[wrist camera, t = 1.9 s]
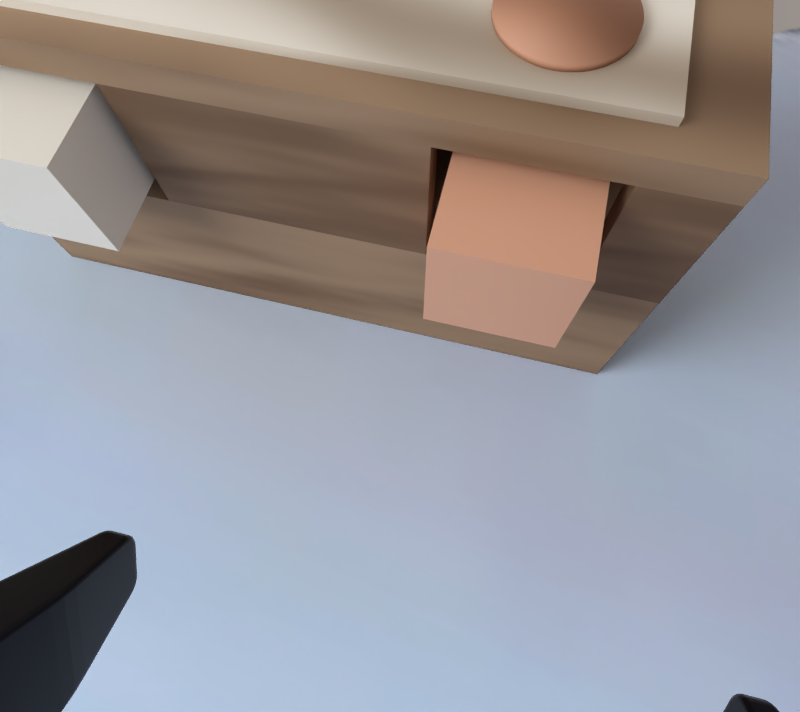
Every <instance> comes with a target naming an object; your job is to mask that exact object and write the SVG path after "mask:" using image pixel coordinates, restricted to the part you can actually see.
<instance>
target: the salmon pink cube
mask: <svg viewBox="0 0 800 712" xmlns="http://www.w3.org/2000/svg"><path fill="white" fill-rule="evenodd" d="M609 185H610V181H606V180H601V179H596V178H590V177H585V176H580V175H575V174H569V173H564V172H559V171H554V170H548V169H543V168H538V167H532V166H527V165H522V164H517V163H511V162H506V161H501V160H496V159H490V158H485V157H480V156H475V155H469V154H464V153H459V152H454V151H453V153H452V157H451V160H450V164H449V168H448V171H447V175H446V179H445V182H444V186H443V190H442V193H441V197H440V201H439V204H438V208H437V212H436V215H435V219H434V223H433V226H432V230H431V234H430V237H429V241H428V245H427V253H426V272H425V291H424V311H423V319H427V320H431V321H436V322H440V323H445V324H449V325H454V326H458V327H463V328H467V329H472V330H476V331H481V332H485V333H490V334H494V335H499V336H503V337H508V338H512V339H517V340H521V341H526V342H530V343H535V344H539V345H544V346H548V347H553V348H555V347H556V345H557V344H558V342H559V341H560V339H561V337H562V336H563V334H564V332H565V331H566V329H567V327H568V326H569V324H570V323H571V321H572V319H573V318H574V316H575V314H576V313H577V311H578V309H579V308H580V306H581V305H582V303H583V301H584V300H585V298H586V296H587V295H588V293H589V291H590V290H591V288H592V287H593V285H594V283H595V280H596V273H597V266H598V259H599V253H600V246H601V239H602V232H603V226H604V219H605V212H606V205H607V198H608V192H609Z"/></svg>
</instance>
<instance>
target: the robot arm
mask: <svg viewBox="0 0 800 712" xmlns="http://www.w3.org/2000/svg"><path fill="white" fill-rule="evenodd" d="M136 579H137V567H136V548H135V541H134V539H133V537H131V536H130V535H126V534H122V533H118V532H115V531H104V532H101V533H99V534H97V535H95V536H93V537H91V538H89V539H87V540H84V541H82V542H80V543H78V544H76V545H74V546H72V547H70V548H68V549H66V550H64V551H62V552H60V553H57V554H55V555H53V556H51V557H49V558H47V559H45V560H43V561H41V562H39V563H37V564H35V565H33V566H30V567H28V568H26V569H24V570H22V571H20V572H18V573H16V574H14V575H12V576H10V577H8V578H6V579H3V580H1V581H0V712H62V710H63V709H64V707H65V706H66V704H67V703H68V701H69V700H70V698H71V697H72V695H73V694H74V692H75V691H76V689H77V688H78V686H79V684H80V683H81V681H82V679H83V678H84V676H85V674H86V673H87V671H88V669H89V667H90V666H91V664H92V662H93V660H94V659H95V657H96V655H97V653H98V652H99V650H100V648H101V646H102V644H103V643H104V641H105V639H106V637H107V636H108V634H109V632H110V630H111V629H112V627H113V625H114V623H115V622H116V620H117V618H118V616H119V615H120V613H121V611H122V609H123V608H124V606H125V604H126V602H127V601H128V599H129V597H130V595H131V593H132V591H133V589H134V587H135V584H136ZM723 712H779V711H778V710H777V708H776V707H775V706H773V705H772V704H771V703H770V702H768V701H766V700H763V699H760V698H756V697H752V696H748V695H744V694H736V695H734V696H733V697H732V698H731V699H730V701H729V703H728V705H727V706H726V708H725V710H724V711H723Z"/></svg>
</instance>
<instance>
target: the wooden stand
mask: <svg viewBox="0 0 800 712" xmlns="http://www.w3.org/2000/svg"><path fill="white" fill-rule="evenodd" d="M772 36H773V0H0V65H1V66H6V67H12V68H17V69H22V70H28V71H33V72H38V73H43V74H49V75H54V76H59V77H64V78H70V79H75V80H80V81H85V82H91V83H96V84H97V85H98V87H99V88H100V90H101V92H102V93H103V95H104V96H105V98H106V100H107V101H108V103H109V105H110V106H111V108H112V109H113V111H114V113H115V114H116V116H117V117H118V119H119V121H120V122H121V124H122V125H123V127H124V129H125V130H126V132H127V133H128V135H129V137H130V138H131V140H132V142H133V143H134V145H135V146H136V148H137V150H138V151H139V153H140V154H141V156H142V158H143V159H144V161H145V162H146V164H147V166H148V167H149V169H150V170H151V172H152V174H153V175H154V177H155V179H154V181H153V183H152V185H151V187H150V189H149V191H148V193H147V195H146V197H145V199H144V201H143V203H142V205H141V207H140V209H139V211H138V214H137V216H136V218H135V220H134V222H133V224H132V226H131V228H130V230H129V232H128V234H127V236H126V238H125V240H124V242H123V244H122V246H121V248H120V250H119V251H115V250H111V249H106V248H102V247H97V246H92V245H88V244H83V243H79V242H74V241H70V240H65V239H61V238H56V237H53V238H54V239H55V240H56V241H57V242H58V243H59V244H60V245H61V246H62V247H63V248H64V249H65V250H66V251H67V252H68V253H69V254H70V255H71V256H74V257H78V258H83V259H87V260H91V261H96V262H100V263H105V264H109V265H114V266H118V267H123V268H127V269H132V270H136V271H140V272H145V273H149V274H154V275H158V276H163V277H167V278H172V279H176V280H181V281H185V282H189V283H194V284H198V285H203V286H207V287H212V288H216V289H221V290H225V291H230V292H234V293H238V294H243V295H247V296H252V297H256V298H261V299H265V300H270V301H274V302H279V303H283V304H287V305H292V306H296V307H301V308H305V309H310V310H314V311H319V312H323V313H328V314H332V315H336V316H341V317H345V318H350V319H354V320H359V321H363V322H368V323H372V324H377V325H381V326H385V327H390V328H394V329H399V330H403V331H408V332H412V333H417V334H421V335H426V336H430V337H434V338H439V339H443V340H448V341H452V342H457V343H461V344H466V345H470V346H475V347H479V348H483V349H488V350H492V351H497V352H501V353H506V354H510V355H515V356H519V357H524V358H528V359H532V360H537V361H541V362H546V363H550V364H555V365H559V366H564V367H568V368H573V369H577V370H581V371H586V372H590V373H595V374H597V373H598V372H599V371H600V370H601V369H602V367H603V366H604V365H605V364H606V363H607V362H608V361H609V359H610V358H611V357H612V356H613V355H614V354H615V353H616V352H617V350H618V349H619V348H620V347H621V346H622V345H623V344H624V342H625V341H626V340H627V339H628V338H629V337H630V336H631V335H632V333H633V332H634V331H635V330H636V329H637V328H638V327H639V325H640V324H641V323H642V322H643V321H644V320H645V319H646V317H647V316H648V315H649V314H650V313H651V312H652V311H653V310H654V308H655V307H656V306H657V305H658V304H659V303H660V302H661V300H662V299H663V298H664V297H665V296H666V295H667V294H668V293H669V291H670V290H671V289H672V288H673V287H674V286H675V285H676V283H677V282H678V281H679V280H680V279H681V278H682V277H683V276H684V274H685V273H686V272H687V271H688V270H689V269H690V268H691V266H692V265H693V264H694V263H695V262H696V261H697V260H698V258H699V257H700V256H701V255H702V254H703V253H704V252H705V251H706V249H707V248H708V247H709V246H710V245H711V244H712V243H713V241H714V240H715V239H716V238H717V237H718V236H719V235H720V234H721V232H722V231H723V230H724V229H725V228H726V227H727V226H728V224H729V223H730V222H731V221H732V220H733V219H734V218H735V217H736V215H737V214H738V213H739V212H740V211H741V210H742V209H743V207H744V206H745V205H746V204H747V203H748V202H749V201H750V200H751V198H752V197H753V196H754V195H755V194H756V193H757V192H758V190H759V189H760V188H761V187H762V186H763V185H764V184H765V182H766V181H767V180H768V179H769V148H770V111H771V74H772ZM453 151H454V152H459V153H464V154H469V155H475V156H480V157H485V158H490V159H496V160H501V161H506V162H511V163H517V164H522V165H527V166H532V167H538V168H543V169H548V170H554V171H559V172H564V173H569V174H575V175H580V176H585V177H590V178H596V179H601V180H606V181H610V185H609V192H608V198H607V205H606V212H605V219H604V226H603V232H602V239H601V246H600V253H599V259H598V266H597V273H596V280H595V283H594V285H593V287H592V288H591V290H590V291H589V293H588V295H587V296H586V298H585V300H584V301H583V303H582V305H581V306H580V308H579V309H578V311H577V313H576V314H575V316H574V318H573V319H572V321H571V323H570V324H569V326H568V327H567V329H566V331H565V332H564V334H563V336H562V337H561V339H560V341H559V342H558V344H557V345H556V347H555V348H553V347H548V346H544V345H539V344H535V343H530V342H526V341H521V340H517V339H512V338H508V337H503V336H499V335H494V334H490V333H485V332H481V331H476V330H472V329H467V328H463V327H458V326H454V325H449V324H445V323H440V322H436V321H431V320H427V319H423V311H424V291H425V272H426V253H427V245H428V241H429V237H430V234H431V230H432V226H433V223H434V219H435V215H436V212H437V208H438V204H439V201H440V197H441V193H442V190H443V186H444V182H445V179H446V175H447V171H448V168H449V164H450V160H451V157H452V153H453Z"/></svg>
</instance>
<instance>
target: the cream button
mask: <svg viewBox="0 0 800 712" xmlns="http://www.w3.org/2000/svg"><path fill="white" fill-rule="evenodd" d="M154 179H155V177H154V175H153V174H152V172H151V170H150V169H149V167H148V166H147V164H146V162H145V161H144V159H143V158H142V156H141V154H140V153H139V151H138V150H137V148H136V146H135V145H134V143H133V142H132V140H131V138H130V137H129V135H128V133H127V132H126V130H125V129H124V127H123V125H122V124H121V122H120V121H119V119H118V117H117V116H116V114H115V113H114V111H113V109H112V108H111V106H110V105H109V103H108V101H107V100H106V98H105V96H104V95H103V93H102V92H101V90H100V88H99V87H98V85H97V84H96V83H91V82H85V81H80V80H75V79H70V78H64V77H59V76H54V75H49V74H43V73H38V72H33V71H28V70H22V69H17V68H12V67H6V66H1V65H0V221H1V222H2V223H3V224H4V225H5V226H7V227H11V228H16V229H20V230H25V231H29V232H34V233H38V234H43V235H47V236H52V237H56V238H61V239H65V240H70V241H74V242H79V243H83V244H88V245H92V246H97V247H102V248H106V249H111V250H115V251H119V250H120V248H121V246H122V244H123V242H124V240H125V238H126V236H127V234H128V232H129V230H130V228H131V226H132V224H133V222H134V220H135V218H136V216H137V214H138V211H139V209H140V207H141V205H142V203H143V201H144V199H145V197H146V195H147V193H148V191H149V189H150V187H151V185H152V183H153V181H154Z"/></svg>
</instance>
